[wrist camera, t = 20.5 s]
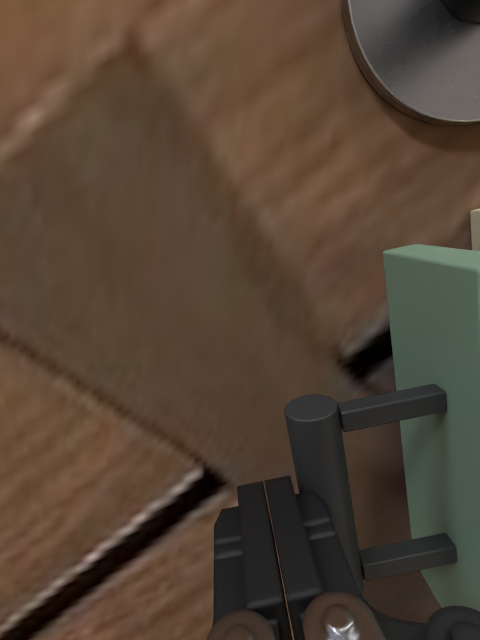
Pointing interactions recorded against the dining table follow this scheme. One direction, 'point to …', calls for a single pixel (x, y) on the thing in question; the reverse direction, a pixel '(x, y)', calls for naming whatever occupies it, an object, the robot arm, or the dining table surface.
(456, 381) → the drawer
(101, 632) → the dining table surface
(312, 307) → the dining table surface
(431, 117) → the paper towel holder
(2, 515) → the dining table surface
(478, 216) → the cabinet
